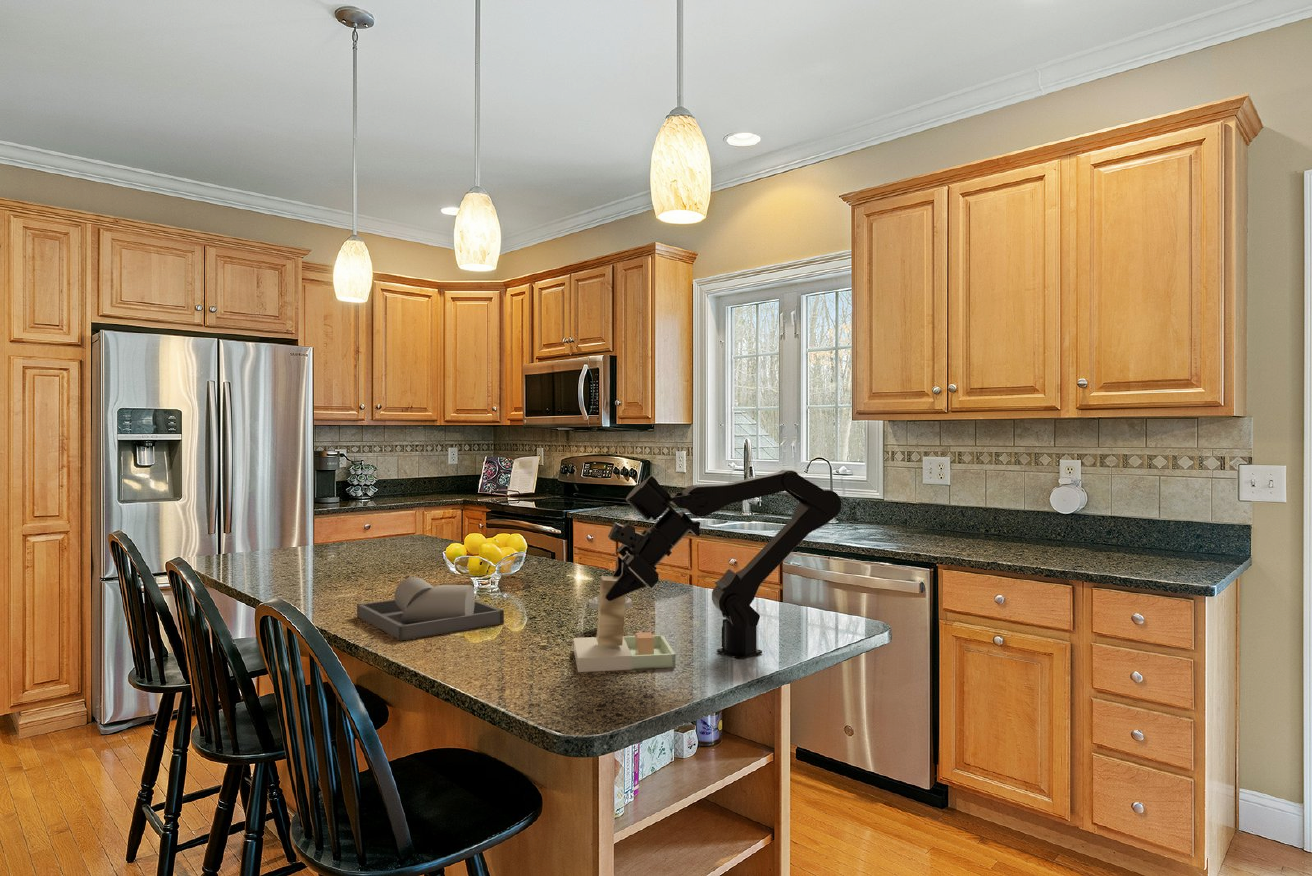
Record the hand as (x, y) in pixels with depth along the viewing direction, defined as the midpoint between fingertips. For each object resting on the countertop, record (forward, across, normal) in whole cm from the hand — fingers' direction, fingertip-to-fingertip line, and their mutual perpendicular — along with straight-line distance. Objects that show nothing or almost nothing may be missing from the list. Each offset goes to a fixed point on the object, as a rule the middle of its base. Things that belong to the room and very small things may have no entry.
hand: (605, 596), depth 145 cm
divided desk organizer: (+35, -37, -18) cm, 54 cm away
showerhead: (+6, -24, +11) cm, 27 cm away
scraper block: (+6, 0, +6) cm, 9 cm away
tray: (+3, 0, +14) cm, 14 cm away
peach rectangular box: (+3, 0, +11) cm, 11 cm away
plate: (+9, 0, +8) cm, 12 cm away
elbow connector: (+34, -38, -18) cm, 54 cm away
